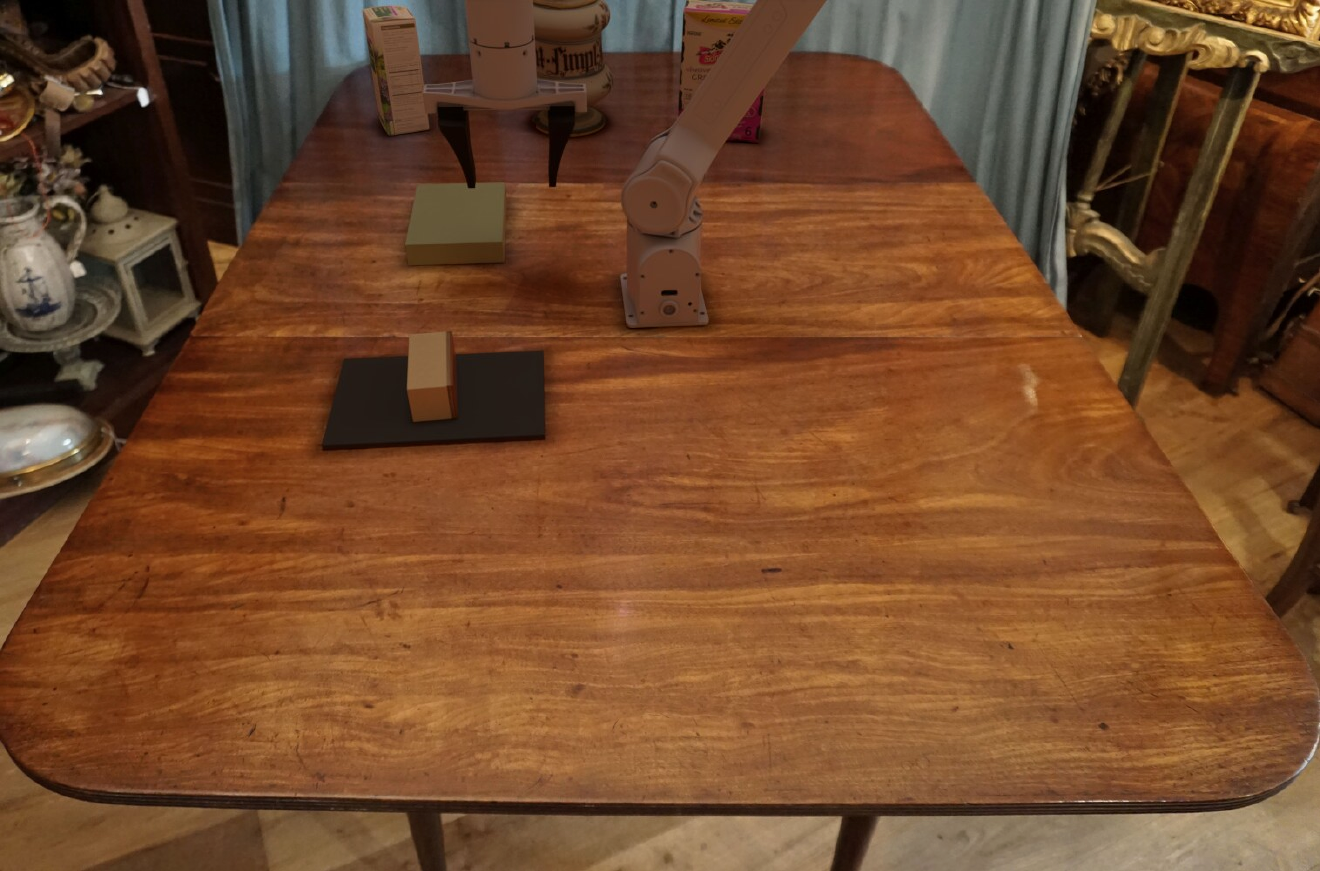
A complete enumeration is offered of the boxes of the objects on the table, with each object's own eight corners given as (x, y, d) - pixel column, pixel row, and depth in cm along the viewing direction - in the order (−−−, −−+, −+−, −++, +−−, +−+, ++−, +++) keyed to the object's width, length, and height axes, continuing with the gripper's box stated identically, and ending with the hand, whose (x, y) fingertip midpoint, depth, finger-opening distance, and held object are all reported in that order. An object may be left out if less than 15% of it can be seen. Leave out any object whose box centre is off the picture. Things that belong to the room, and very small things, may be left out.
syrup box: (378, 120, 126) (358, 7, 117) (421, 114, 128) (405, 2, 119) (387, 136, 123) (368, 21, 113) (432, 130, 125) (416, 15, 115)
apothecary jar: (514, 112, 130) (502, -28, 118) (595, 100, 134) (592, -36, 122) (540, 146, 122) (531, -1, 110) (626, 133, 125) (626, -11, 114)
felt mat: (545, 438, 78) (544, 434, 77) (322, 450, 76) (321, 445, 76) (543, 354, 87) (543, 350, 86) (344, 362, 85) (343, 358, 85)
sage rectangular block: (504, 262, 99) (502, 241, 97) (408, 265, 98) (404, 244, 96) (507, 201, 110) (505, 181, 108) (420, 203, 109) (417, 183, 107)
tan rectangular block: (457, 418, 79) (453, 385, 76) (413, 422, 78) (406, 389, 76) (456, 362, 84) (452, 330, 82) (414, 366, 84) (409, 333, 82)
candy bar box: (676, 139, 124) (681, 9, 113) (679, 124, 128) (684, -3, 117) (760, 144, 124) (773, 14, 113) (761, 129, 127) (773, 2, 117)
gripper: (583, 22, 85) (585, 164, 94) (420, 22, 83) (438, 166, 92) (586, 49, 80) (589, 196, 89) (413, 49, 78) (433, 199, 87)
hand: (512, 183), depth 90 cm, fingers open, 7 cm apart
